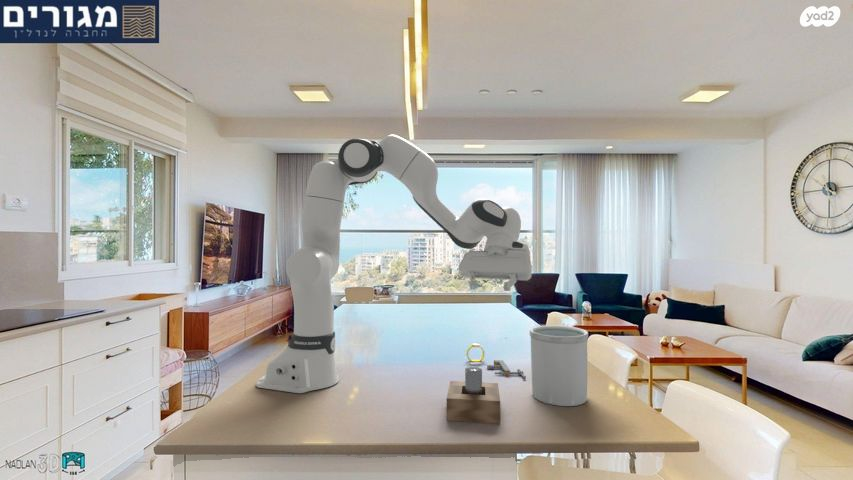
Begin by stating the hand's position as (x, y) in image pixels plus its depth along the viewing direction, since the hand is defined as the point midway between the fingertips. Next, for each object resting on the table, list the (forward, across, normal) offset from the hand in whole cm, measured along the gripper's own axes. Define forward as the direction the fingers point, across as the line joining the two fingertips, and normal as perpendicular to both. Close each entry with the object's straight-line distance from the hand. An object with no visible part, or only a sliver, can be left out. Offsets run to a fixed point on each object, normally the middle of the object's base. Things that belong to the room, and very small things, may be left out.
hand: (489, 288), depth 109 cm
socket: (+29, 0, +11) cm, 31 cm away
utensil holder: (+15, +17, +25) cm, 34 cm away
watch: (0, -13, +40) cm, 42 cm away
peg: (+29, 0, +11) cm, 31 cm away
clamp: (+5, -1, +36) cm, 36 cm away
